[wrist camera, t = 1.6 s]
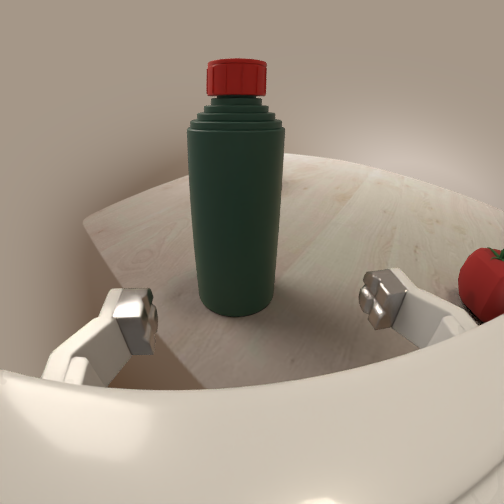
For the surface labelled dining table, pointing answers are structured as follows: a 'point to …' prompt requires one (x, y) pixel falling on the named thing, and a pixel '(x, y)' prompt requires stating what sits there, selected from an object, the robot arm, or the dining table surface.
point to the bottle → (235, 202)
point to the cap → (236, 77)
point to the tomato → (483, 283)
